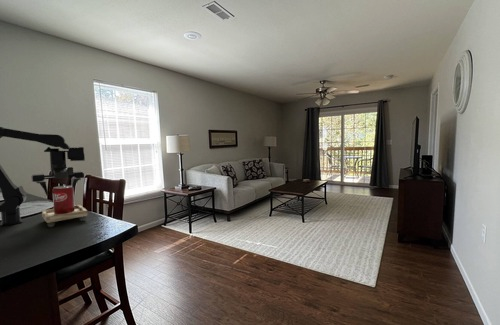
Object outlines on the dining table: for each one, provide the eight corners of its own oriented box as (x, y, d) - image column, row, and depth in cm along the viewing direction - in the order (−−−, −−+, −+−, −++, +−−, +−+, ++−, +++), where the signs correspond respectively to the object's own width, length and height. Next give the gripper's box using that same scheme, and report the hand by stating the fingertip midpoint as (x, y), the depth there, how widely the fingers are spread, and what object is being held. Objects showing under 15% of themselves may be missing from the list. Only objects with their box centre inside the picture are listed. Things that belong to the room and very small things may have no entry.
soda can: (63, 216, 100) (61, 188, 99) (49, 214, 102) (48, 187, 101) (78, 211, 107) (77, 185, 106) (66, 210, 109) (64, 185, 108)
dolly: (42, 221, 104) (41, 210, 104) (80, 214, 115) (79, 204, 114) (47, 228, 95) (46, 217, 95) (87, 220, 105) (87, 210, 105)
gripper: (32, 163, 97) (35, 200, 98) (86, 161, 110) (87, 193, 112) (30, 162, 104) (32, 196, 105) (80, 160, 118) (82, 190, 119)
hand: (59, 194), depth 110 cm, fingers open, 9 cm apart
